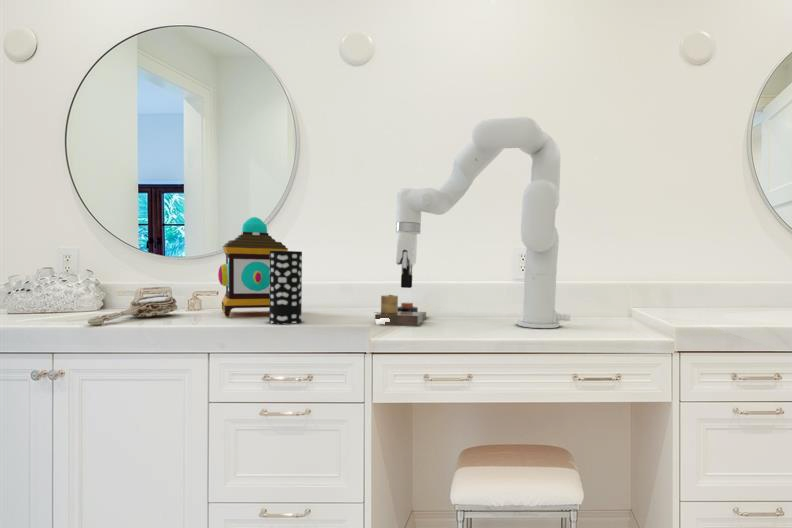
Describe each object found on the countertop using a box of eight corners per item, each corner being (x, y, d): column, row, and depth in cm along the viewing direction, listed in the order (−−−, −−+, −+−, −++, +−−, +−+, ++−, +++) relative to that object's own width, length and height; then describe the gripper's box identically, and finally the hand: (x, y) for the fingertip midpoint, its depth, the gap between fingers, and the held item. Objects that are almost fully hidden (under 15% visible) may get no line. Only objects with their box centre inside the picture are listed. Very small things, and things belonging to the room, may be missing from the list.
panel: (422, 322, 165) (422, 311, 165) (417, 326, 155) (417, 315, 155) (377, 320, 165) (377, 310, 165) (369, 324, 155) (369, 313, 155)
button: (413, 308, 175) (413, 302, 175) (411, 309, 171) (411, 303, 171) (402, 307, 175) (402, 302, 175) (400, 308, 171) (400, 303, 171)
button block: (426, 317, 178) (426, 306, 178) (422, 320, 169) (422, 309, 169) (392, 316, 178) (392, 305, 177) (386, 319, 169) (386, 308, 168)
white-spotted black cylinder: (290, 319, 160) (290, 251, 159) (307, 322, 155) (308, 251, 154) (263, 322, 153) (263, 250, 152) (280, 325, 149) (280, 251, 147)
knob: (378, 312, 161) (379, 294, 160) (394, 311, 163) (395, 293, 163) (383, 313, 157) (384, 295, 156) (399, 313, 159) (400, 295, 159)
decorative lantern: (219, 318, 157) (219, 213, 155) (216, 311, 174) (216, 216, 172) (294, 316, 167) (294, 217, 165) (284, 309, 184) (284, 220, 182)
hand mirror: (65, 315, 135) (150, 294, 165) (72, 337, 136) (155, 313, 166) (105, 307, 134) (183, 288, 164) (112, 330, 135) (188, 307, 165)
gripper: (400, 229, 179) (398, 285, 180) (391, 227, 164) (389, 288, 165) (423, 230, 179) (421, 286, 180) (416, 228, 164) (414, 289, 165)
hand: (406, 287), depth 173 cm, fingers closed
